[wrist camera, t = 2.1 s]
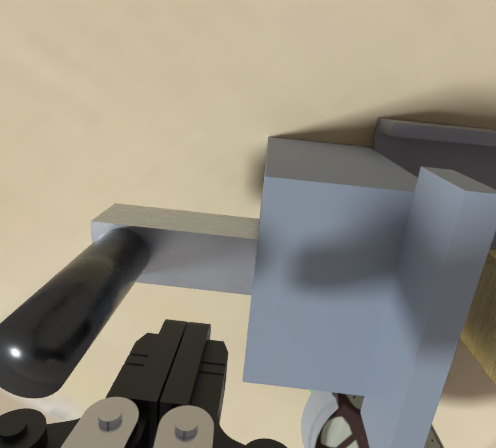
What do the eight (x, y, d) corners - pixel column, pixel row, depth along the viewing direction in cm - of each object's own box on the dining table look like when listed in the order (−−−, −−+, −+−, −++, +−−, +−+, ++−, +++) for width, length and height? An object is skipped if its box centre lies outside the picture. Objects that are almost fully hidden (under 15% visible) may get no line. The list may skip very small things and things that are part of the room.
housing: (270, 122, 27) (266, 169, 11) (372, 132, 26) (506, 194, 11) (253, 277, 31) (233, 466, 15) (341, 287, 31) (410, 488, 15)
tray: (378, 117, 26) (393, 122, 23) (568, 136, 26) (611, 144, 23) (342, 299, 31) (350, 324, 28) (502, 316, 31) (530, 344, 27)
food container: (264, 354, 33) (261, 460, 24) (313, 306, 31) (330, 402, 22) (369, 429, 35) (404, 554, 26) (420, 389, 33) (478, 508, 24)
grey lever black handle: (114, 203, 21) (-35, 313, 11) (577, 253, 21) (882, 420, 10) (116, 253, 22) (-20, 397, 12) (557, 302, 22) (816, 498, 11)
